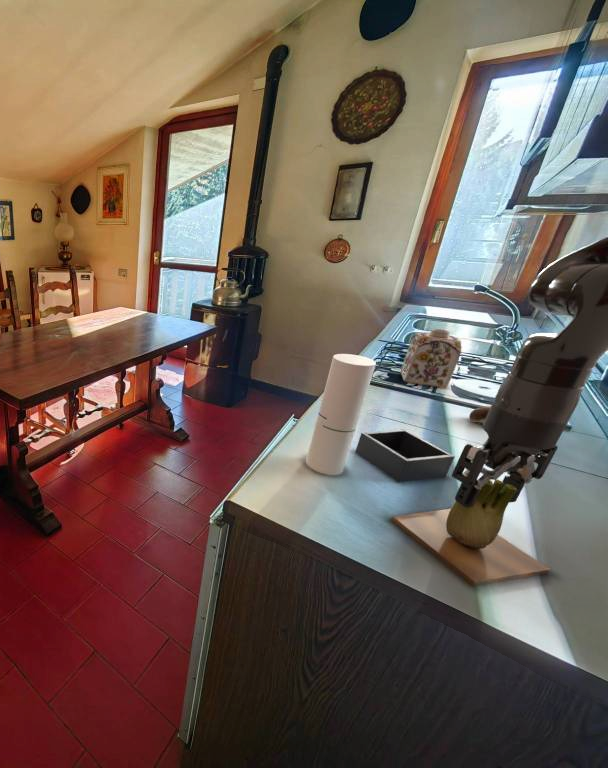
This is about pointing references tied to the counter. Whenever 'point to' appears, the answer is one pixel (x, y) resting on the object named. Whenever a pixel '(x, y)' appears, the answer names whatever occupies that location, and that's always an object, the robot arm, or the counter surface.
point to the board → (469, 551)
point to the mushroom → (479, 414)
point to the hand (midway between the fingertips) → (484, 501)
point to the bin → (404, 455)
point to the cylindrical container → (339, 412)
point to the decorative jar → (431, 358)
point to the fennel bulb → (480, 516)
